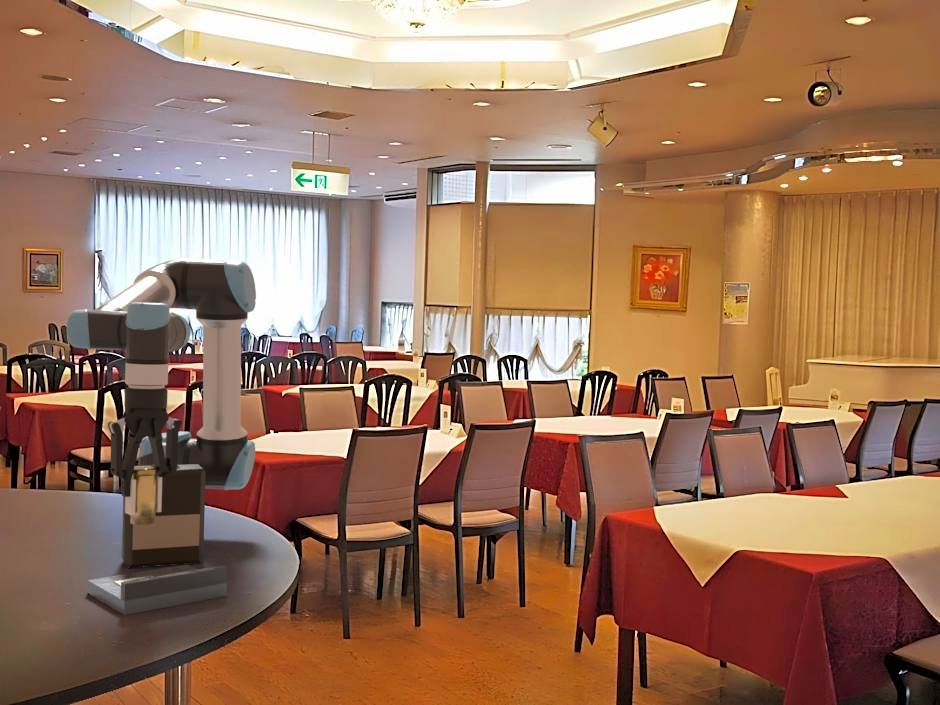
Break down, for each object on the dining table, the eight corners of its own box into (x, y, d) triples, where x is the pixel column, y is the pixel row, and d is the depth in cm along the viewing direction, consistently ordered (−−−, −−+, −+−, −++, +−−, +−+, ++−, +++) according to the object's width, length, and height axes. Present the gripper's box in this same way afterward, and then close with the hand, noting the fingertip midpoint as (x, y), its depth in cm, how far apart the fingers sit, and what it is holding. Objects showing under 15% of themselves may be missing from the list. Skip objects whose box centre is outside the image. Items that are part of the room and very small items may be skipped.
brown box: (120, 559, 214) (123, 442, 213) (198, 554, 221) (201, 440, 219) (125, 569, 207) (127, 447, 205) (204, 563, 213) (208, 445, 212)
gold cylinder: (148, 518, 191) (150, 466, 190) (159, 523, 187) (160, 469, 187) (126, 521, 188) (127, 467, 187) (136, 526, 184) (138, 471, 184)
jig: (186, 576, 203) (187, 549, 203) (226, 595, 191) (227, 567, 191) (87, 593, 190) (88, 564, 189) (124, 615, 178) (124, 584, 178)
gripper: (180, 383, 195) (177, 504, 196) (91, 385, 183) (88, 513, 184) (199, 387, 190) (196, 510, 191) (108, 389, 178) (105, 521, 179)
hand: (143, 512), depth 188 cm, fingers closed on gold cylinder, 4 cm apart
